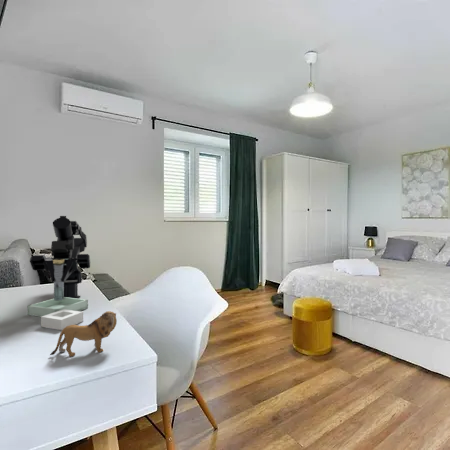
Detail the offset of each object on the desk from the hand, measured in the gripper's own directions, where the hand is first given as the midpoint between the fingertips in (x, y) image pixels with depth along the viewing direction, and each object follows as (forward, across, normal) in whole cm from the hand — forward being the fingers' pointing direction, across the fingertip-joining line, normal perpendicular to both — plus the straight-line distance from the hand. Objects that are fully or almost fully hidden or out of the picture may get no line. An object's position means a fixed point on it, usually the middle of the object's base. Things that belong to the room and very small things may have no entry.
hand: (57, 281), depth 101 cm
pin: (+4, 0, +6) cm, 7 cm away
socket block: (+17, +4, -2) cm, 17 cm away
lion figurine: (+32, +14, -18) cm, 39 cm away
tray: (+7, 0, +8) cm, 11 cm away
